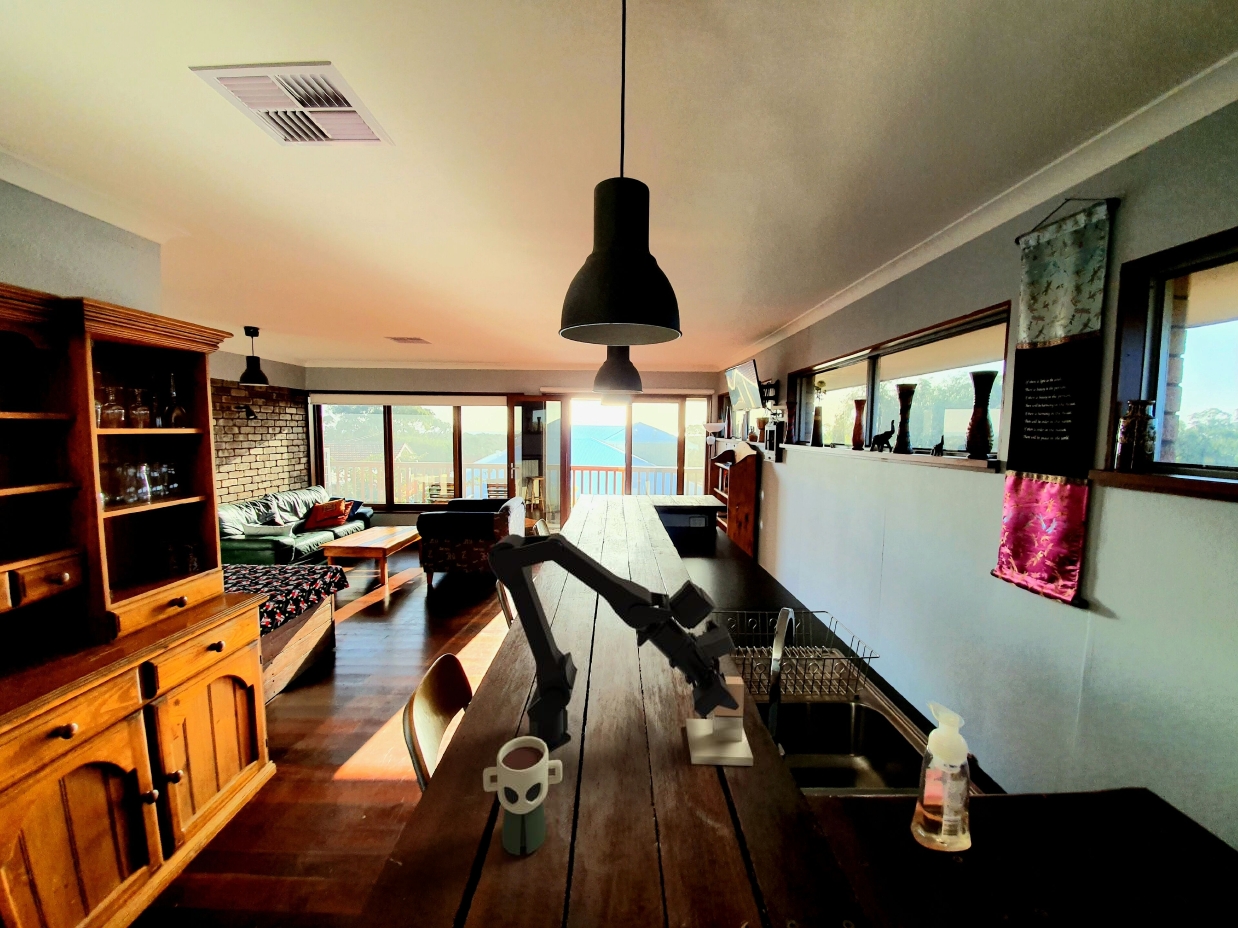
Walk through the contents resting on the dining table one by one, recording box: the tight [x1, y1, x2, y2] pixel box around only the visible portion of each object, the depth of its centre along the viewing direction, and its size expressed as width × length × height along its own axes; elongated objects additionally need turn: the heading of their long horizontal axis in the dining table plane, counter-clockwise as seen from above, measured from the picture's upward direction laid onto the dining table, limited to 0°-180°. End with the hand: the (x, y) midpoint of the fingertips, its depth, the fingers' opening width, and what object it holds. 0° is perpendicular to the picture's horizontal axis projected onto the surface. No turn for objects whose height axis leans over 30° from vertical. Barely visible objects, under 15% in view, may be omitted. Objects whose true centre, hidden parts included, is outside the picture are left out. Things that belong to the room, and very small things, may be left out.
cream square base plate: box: [685, 710, 754, 767], centre depth 84 cm, size 10×10×6 cm
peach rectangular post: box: [714, 676, 745, 717], centre depth 83 cm, size 5×2×6 cm, turn 87°
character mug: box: [482, 735, 563, 856], centre depth 65 cm, size 11×7×13 cm, turn 99°
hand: (735, 703), depth 84 cm, fingers closed on peach rectangular post, 2 cm apart
